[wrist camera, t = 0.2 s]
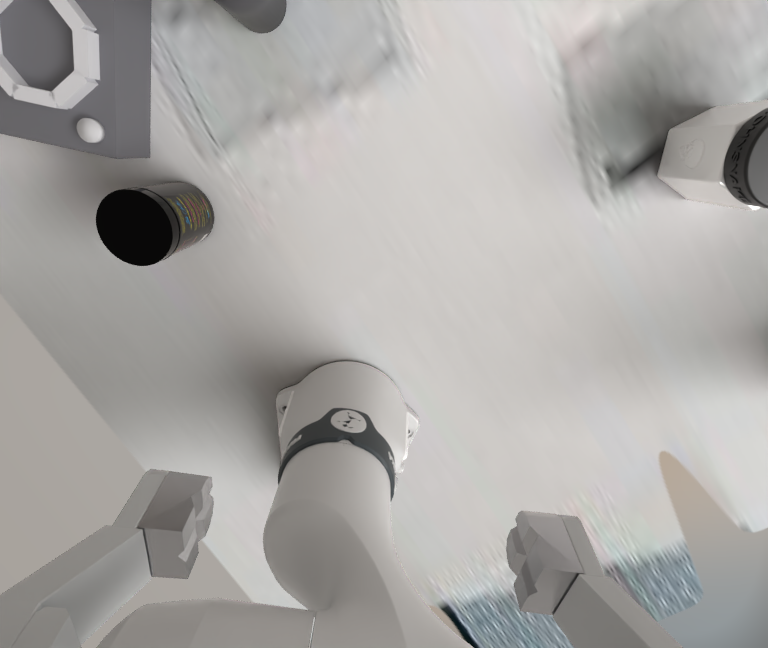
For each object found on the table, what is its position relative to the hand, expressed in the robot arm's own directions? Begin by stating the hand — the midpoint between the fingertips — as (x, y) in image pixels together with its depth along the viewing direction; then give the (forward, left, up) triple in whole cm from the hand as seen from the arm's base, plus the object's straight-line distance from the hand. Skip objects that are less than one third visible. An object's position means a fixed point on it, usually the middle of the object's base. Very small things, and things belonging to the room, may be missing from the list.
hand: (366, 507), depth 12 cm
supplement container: (-2, +22, -40) cm, 46 cm away
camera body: (+11, +32, -40) cm, 52 cm away
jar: (+15, -30, -40) cm, 52 cm away
